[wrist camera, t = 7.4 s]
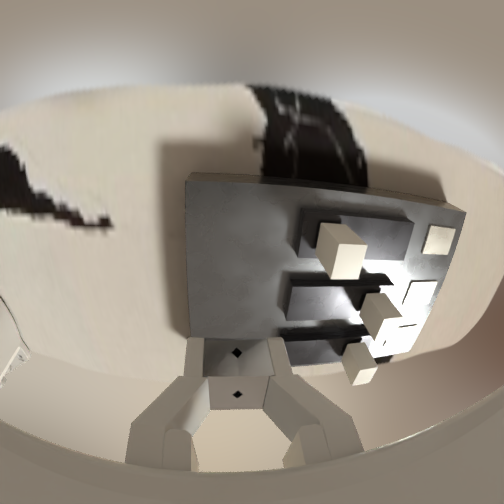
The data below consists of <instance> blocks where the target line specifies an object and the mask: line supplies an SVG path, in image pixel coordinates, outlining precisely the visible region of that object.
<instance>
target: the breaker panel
mask: <svg viewBox="0 0 504 504" xmlns="http://www.w3.org/2000/svg"><path fill="white" fill-rule="evenodd" d="M465 216H466V212H465V211H463V210H461V209H459V208H457V207H455V206H453V205H452V204H450V203H448V202H444V201H439V200H435V199H430V198H425V197H420V196H415V195H410V194H405V193H399V192H394V191H388V190H382V189H376V188H369V187H363V186H356V185H348V184H341V183H333V182H325V181H316V180H306V179H296V178H285V177H273V176H259V175H242V174H219V173H191V174H190V176H189V177H188V178H187V180H186V183H185V226H186V264H187V286H188V303H189V317H190V330H191V337H198V338H231V339H235V338H271V337H282V338H283V340H284V344H285V347H286V351H287V355H288V358H289V362H290V365H291V367H295V366H309V365H320V364H330V363H339V362H341V359H342V357H343V354H344V352H345V349H346V347H347V345H348V344H353V343H362V342H365V344H366V345H367V347H368V349H369V351H370V353H371V355H372V357H373V358H375V357H381V356H387V355H393V354H398V353H403V352H408V351H410V349H411V348H412V346H413V344H414V342H415V340H416V339H417V337H418V335H419V333H420V331H421V329H422V327H423V325H424V323H425V321H426V319H427V317H428V315H429V313H430V311H431V309H432V307H433V304H434V302H435V300H436V298H437V295H438V293H439V291H440V289H441V286H442V284H443V281H444V279H445V276H446V274H447V271H448V269H449V266H450V263H451V260H452V258H453V255H454V252H455V249H456V246H457V243H458V240H459V237H460V233H461V230H462V227H463V223H464V220H465ZM321 223H333V224H346V225H347V226H348V227H349V228H350V229H351V230H352V231H353V232H354V233H356V234H357V235H358V236H359V237H360V238H361V239H362V240H363V241H364V242H365V243H366V244H367V245H368V246H367V249H366V253H365V257H364V261H363V264H362V268H361V271H360V275H359V278H358V279H330V277H329V275H328V274H327V272H326V271H325V269H324V267H323V266H322V264H321V263H320V261H319V259H318V258H317V256H316V255H315V252H316V246H317V241H318V236H319V230H320V225H321ZM369 293H385V294H386V295H387V296H388V298H389V299H390V300H391V301H392V303H393V304H394V305H395V307H396V308H397V309H398V310H399V312H400V313H401V314H402V316H403V319H402V321H401V323H400V326H399V328H398V330H397V332H396V334H395V336H394V338H393V339H390V340H383V341H376V342H374V340H373V339H372V337H371V335H370V334H369V332H368V330H367V328H366V327H365V325H364V323H363V322H362V320H361V318H360V317H359V314H360V311H361V308H362V305H363V302H364V300H365V297H366V294H369Z"/></svg>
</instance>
